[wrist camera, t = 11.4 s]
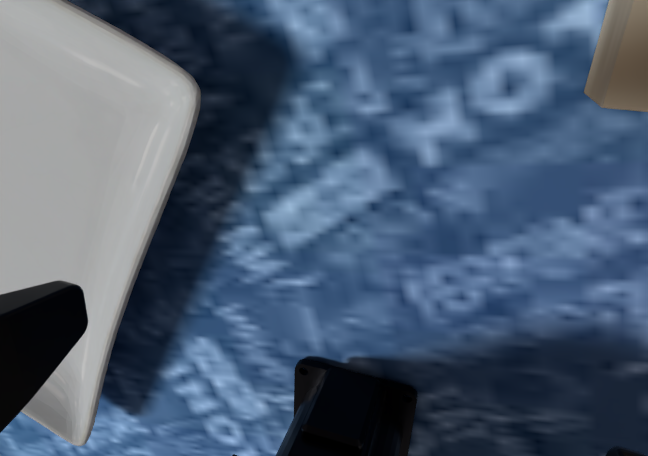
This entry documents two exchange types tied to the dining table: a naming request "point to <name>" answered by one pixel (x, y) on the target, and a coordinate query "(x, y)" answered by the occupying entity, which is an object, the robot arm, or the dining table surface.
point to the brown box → (621, 58)
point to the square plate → (83, 176)
